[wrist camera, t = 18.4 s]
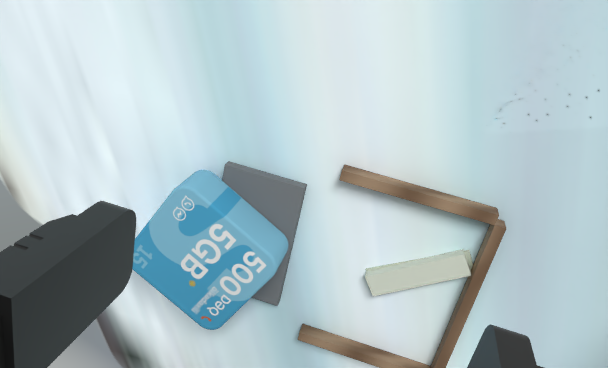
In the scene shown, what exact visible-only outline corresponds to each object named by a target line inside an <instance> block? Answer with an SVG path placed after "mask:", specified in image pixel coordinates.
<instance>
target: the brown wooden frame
mask: <svg viewBox="0 0 608 368" xmlns="http://www.w3.org/2000/svg"><path fill="white" fill-rule="evenodd" d="M340 180H341V181H344V182H347V183H351V184H354V185H358V186H361V187H365V188H368V189H372V190H375V191H378V192H382V193H385V194H389V195H392V196H396V197H399V198H403V199H406V200H409V201H413V202H416V203H420V204H423V205H427V206H430V207H434V208H437V209H440V210H444V211H447V212H451V213H454V214H458V215H461V216H465V217H468V218H471V219H475V220H478V221H482V222H485V223H489V224H490V226H489V228H488V231H487V233H486V235H485V238H484V240H483V243H482V245H481V247H480V250H479V252H478V255H477V257H476V259H475V262H474V264H473V266H472V269H471V276H468V278H467V281H466V283H465V286H464V288H463V290H462V293H461V295H460V297H459V300H458V302H457V305H456V307H455V309H454V312H453V314H452V316H451V319H450V321H449V324H448V326H447V328H446V331H445V333H444V336H443V338H442V340H441V343H440V345H439V347H438V350H437V352H436V355H435V357H434V359H433V362H432V364H431V366H429V365H426V364H423V363H420V362H417V361H414V360H410V359H407V358H404V357H401V356H398V355H395V354H392V353H389V352H386V351H383V350H380V349H377V348H374V347H371V346H368V345H365V344H362V343H359V342H356V341H353V340H350V339H347V338H344V337H341V336H338V335H335V334H332V333H329V332H326V331H323V330H320V329H317V328H314V327H311V326H308V325H305V324H303V325H302V327H301V330H300V332H299V336H298V340H300V341H303V342H306V343H309V344H312V345H315V346H318V347H320V348H323V349H326V350H329V351H332V352H335V353H338V354H341V355H344V356H347V357H350V358H353V359H356V360H359V361H362V362H365V363H368V364H371V365H374V366H377V367H380V368H446V366H447V363H448V361H449V359H450V356H451V354H452V352H453V350H454V347H455V345H456V343H457V340H458V338H459V336H460V334H461V331H462V329H463V327H464V324H465V322H466V320H467V318H468V315H469V313H470V311H471V308H472V306H473V304H474V302H475V299H476V297H477V295H478V292H479V290H480V288H481V286H482V283H483V281H484V279H485V276H486V274H487V272H488V269H489V267H490V265H491V263H492V260H493V258H494V256H495V253H496V251H497V249H498V247H499V244H500V242H501V240H502V237H503V235H504V233H505V231H506V226H505V222H504V221H502V220H499V219H498V216H499V214H498V210H497V208H495V207H491V206H488V205H484V204H481V203H477V202H474V201H470V200H467V199H463V198H460V197H456V196H453V195H449V194H446V193H442V192H439V191H435V190H432V189H428V188H425V187H421V186H418V185H414V184H411V183H407V182H404V181H400V180H397V179H393V178H390V177H386V176H383V175H379V174H376V173H372V172H369V171H365V170H362V169H358V168H355V167H351V166H348V165H344V167H343V169H342V172H341V176H340Z"/></svg>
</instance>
